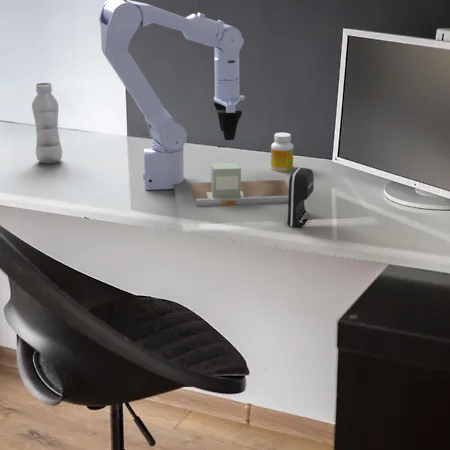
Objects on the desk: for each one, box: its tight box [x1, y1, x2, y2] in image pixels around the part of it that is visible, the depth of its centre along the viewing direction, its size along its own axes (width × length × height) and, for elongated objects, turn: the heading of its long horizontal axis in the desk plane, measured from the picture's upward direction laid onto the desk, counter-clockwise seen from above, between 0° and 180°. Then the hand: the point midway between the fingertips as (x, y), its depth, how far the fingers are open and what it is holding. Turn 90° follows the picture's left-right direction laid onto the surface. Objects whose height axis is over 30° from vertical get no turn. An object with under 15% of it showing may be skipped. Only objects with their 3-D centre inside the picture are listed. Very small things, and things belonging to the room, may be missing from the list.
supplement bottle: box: [270, 132, 294, 173], centre depth 201 cm, size 5×5×10 cm
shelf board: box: [190, 179, 289, 207], centre depth 186 cm, size 22×15×2 cm
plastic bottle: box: [31, 82, 63, 164], centre depth 206 cm, size 6×7×20 cm
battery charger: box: [287, 166, 315, 228], centre depth 170 cm, size 7×4×11 cm, turn 160°
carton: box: [210, 162, 242, 198], centre depth 182 cm, size 4×6×7 cm
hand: (227, 135), depth 196 cm, fingers open, 7 cm apart
